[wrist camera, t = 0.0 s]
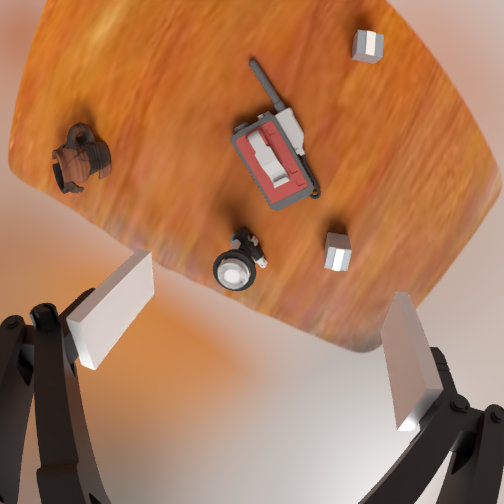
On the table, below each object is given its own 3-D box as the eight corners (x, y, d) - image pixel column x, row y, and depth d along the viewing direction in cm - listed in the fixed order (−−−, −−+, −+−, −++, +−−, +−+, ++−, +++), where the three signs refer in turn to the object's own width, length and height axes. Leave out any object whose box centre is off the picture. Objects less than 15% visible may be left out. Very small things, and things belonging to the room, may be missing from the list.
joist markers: (353, 38, 31) (358, 28, 27) (375, 43, 31) (384, 34, 26) (323, 251, 45) (324, 268, 40) (344, 254, 44) (347, 272, 39)
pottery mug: (114, 191, 47) (70, 209, 42) (92, 168, 51) (52, 183, 46) (114, 123, 39) (62, 138, 34) (90, 107, 43) (45, 120, 38)
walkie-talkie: (334, 187, 41) (259, 58, 35) (336, 195, 37) (253, 52, 31) (278, 214, 44) (204, 91, 38) (274, 225, 40) (192, 90, 34)
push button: (279, 253, 46) (270, 289, 37) (252, 271, 48) (237, 309, 39) (250, 218, 45) (233, 247, 36) (223, 238, 47) (201, 271, 38)
